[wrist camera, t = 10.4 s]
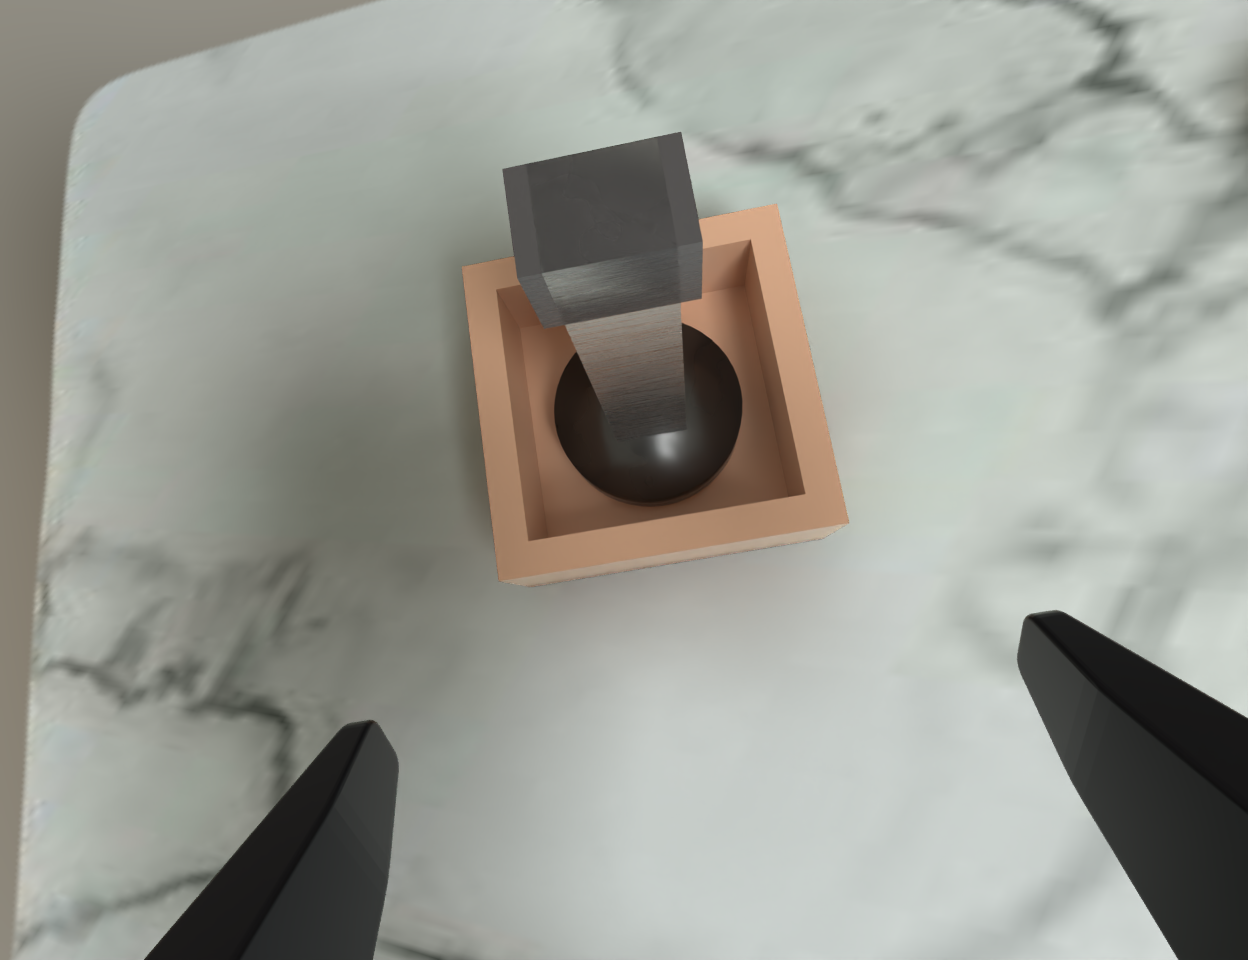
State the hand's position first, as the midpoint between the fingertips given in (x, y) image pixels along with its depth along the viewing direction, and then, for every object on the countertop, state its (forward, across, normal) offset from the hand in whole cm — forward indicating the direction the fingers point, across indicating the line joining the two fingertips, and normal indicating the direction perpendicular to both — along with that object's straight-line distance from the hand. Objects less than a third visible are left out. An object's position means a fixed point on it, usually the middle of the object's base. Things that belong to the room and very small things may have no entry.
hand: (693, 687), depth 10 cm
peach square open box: (+15, 0, +4) cm, 16 cm away
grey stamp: (+14, 0, +3) cm, 15 cm away
